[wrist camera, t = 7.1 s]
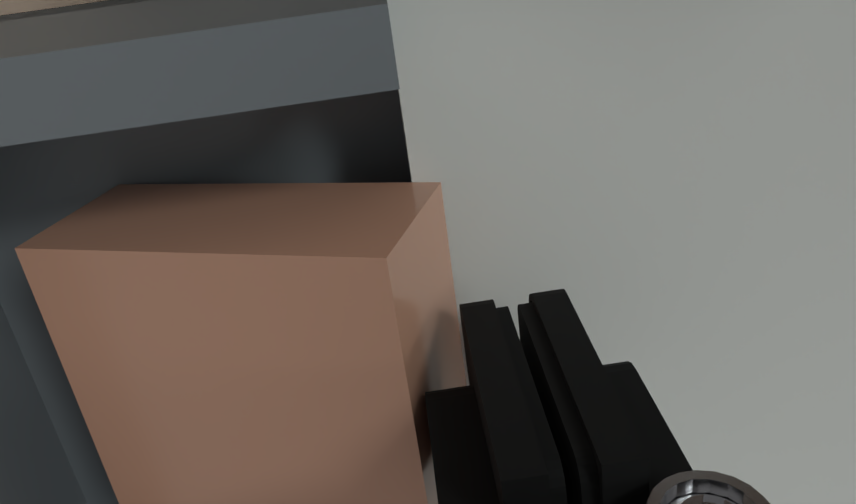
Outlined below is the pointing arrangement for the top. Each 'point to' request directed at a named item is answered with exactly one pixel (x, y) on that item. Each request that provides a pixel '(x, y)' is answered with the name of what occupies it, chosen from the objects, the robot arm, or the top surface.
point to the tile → (255, 337)
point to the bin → (164, 156)
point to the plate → (662, 203)
